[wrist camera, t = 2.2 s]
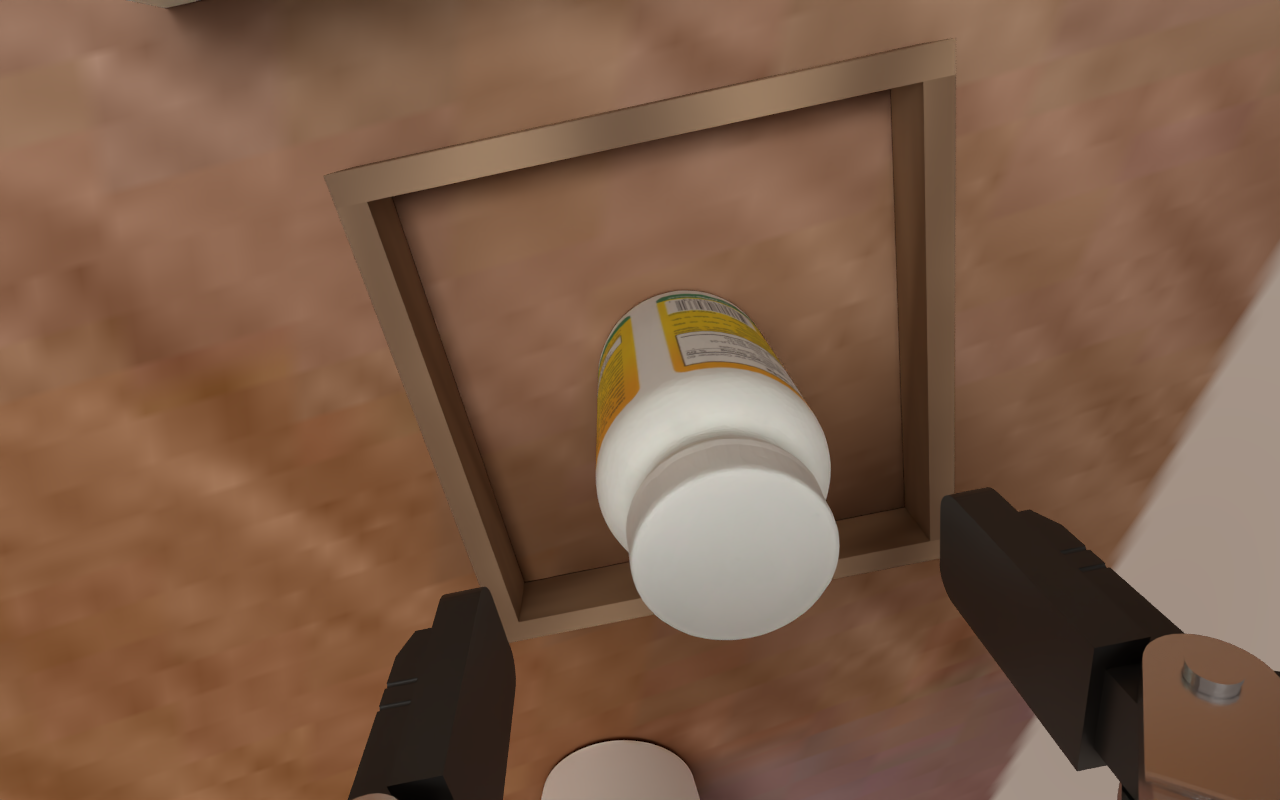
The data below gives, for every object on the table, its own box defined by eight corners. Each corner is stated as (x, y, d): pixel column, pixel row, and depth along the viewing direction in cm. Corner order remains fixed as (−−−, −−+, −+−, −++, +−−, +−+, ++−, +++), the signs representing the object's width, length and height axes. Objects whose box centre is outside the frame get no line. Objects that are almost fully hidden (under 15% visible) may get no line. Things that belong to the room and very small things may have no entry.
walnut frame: (919, 43, 18) (956, 37, 16) (927, 521, 24) (954, 555, 22) (350, 167, 18) (323, 175, 16) (509, 603, 25) (502, 644, 23)
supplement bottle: (721, 254, 20) (819, 380, 11) (790, 398, 22) (919, 598, 13) (563, 339, 21) (539, 517, 12) (645, 469, 23) (675, 703, 14)
